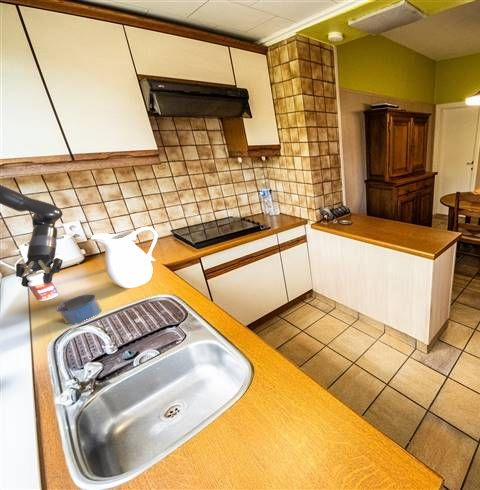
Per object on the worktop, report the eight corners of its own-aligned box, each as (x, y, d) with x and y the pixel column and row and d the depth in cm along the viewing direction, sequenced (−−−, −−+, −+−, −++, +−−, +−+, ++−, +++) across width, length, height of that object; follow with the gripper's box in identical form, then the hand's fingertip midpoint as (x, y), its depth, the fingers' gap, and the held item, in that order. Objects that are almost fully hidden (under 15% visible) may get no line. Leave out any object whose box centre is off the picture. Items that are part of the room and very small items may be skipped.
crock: (62, 329, 105) (53, 315, 102) (67, 315, 113) (59, 302, 110) (101, 316, 111) (93, 302, 109) (104, 304, 120) (96, 291, 117)
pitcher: (115, 296, 126) (87, 242, 114) (115, 282, 137) (90, 232, 126) (174, 277, 140) (155, 228, 128) (170, 266, 151) (151, 220, 140)
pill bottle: (43, 302, 110) (28, 279, 106) (34, 300, 112) (19, 277, 108) (62, 294, 116) (49, 272, 111) (53, 292, 117) (40, 270, 113)
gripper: (12, 247, 110) (3, 286, 104) (56, 241, 114) (50, 278, 108) (29, 253, 116) (22, 290, 111) (70, 248, 120) (66, 283, 115)
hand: (36, 284), depth 109 cm, fingers closed on pill bottle, 6 cm apart
